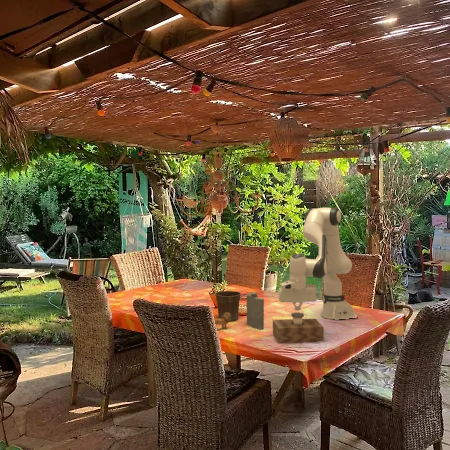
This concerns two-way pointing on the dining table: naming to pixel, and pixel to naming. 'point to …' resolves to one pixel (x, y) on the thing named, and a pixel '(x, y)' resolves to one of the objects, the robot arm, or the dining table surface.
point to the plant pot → (228, 304)
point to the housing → (298, 331)
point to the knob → (297, 318)
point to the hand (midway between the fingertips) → (297, 309)
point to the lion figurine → (223, 320)
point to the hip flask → (255, 311)
